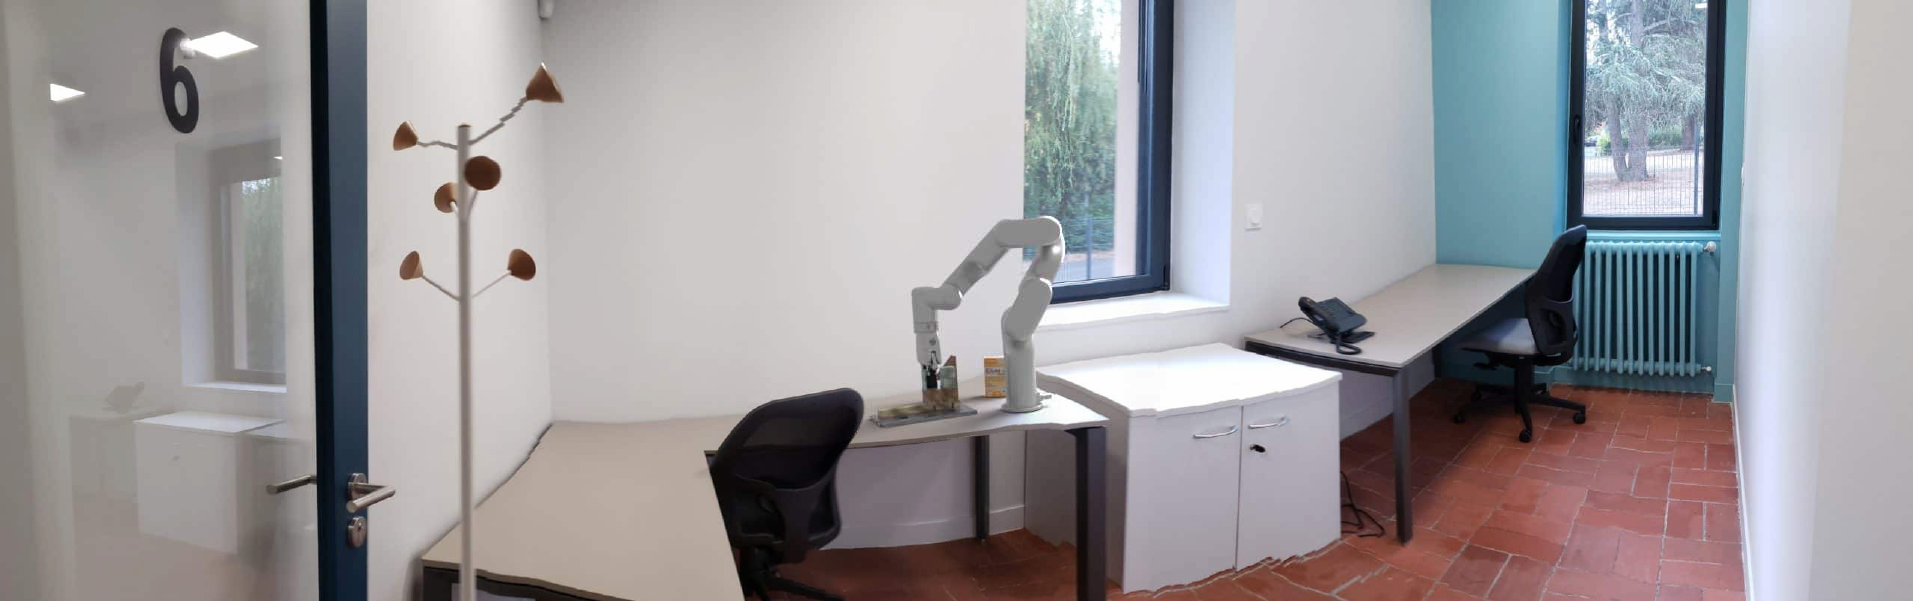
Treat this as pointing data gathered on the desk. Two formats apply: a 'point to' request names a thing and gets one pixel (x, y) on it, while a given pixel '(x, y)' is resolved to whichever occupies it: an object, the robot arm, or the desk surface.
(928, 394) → the sliding leg
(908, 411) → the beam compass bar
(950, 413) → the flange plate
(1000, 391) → the supplement box
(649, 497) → the desk surface
